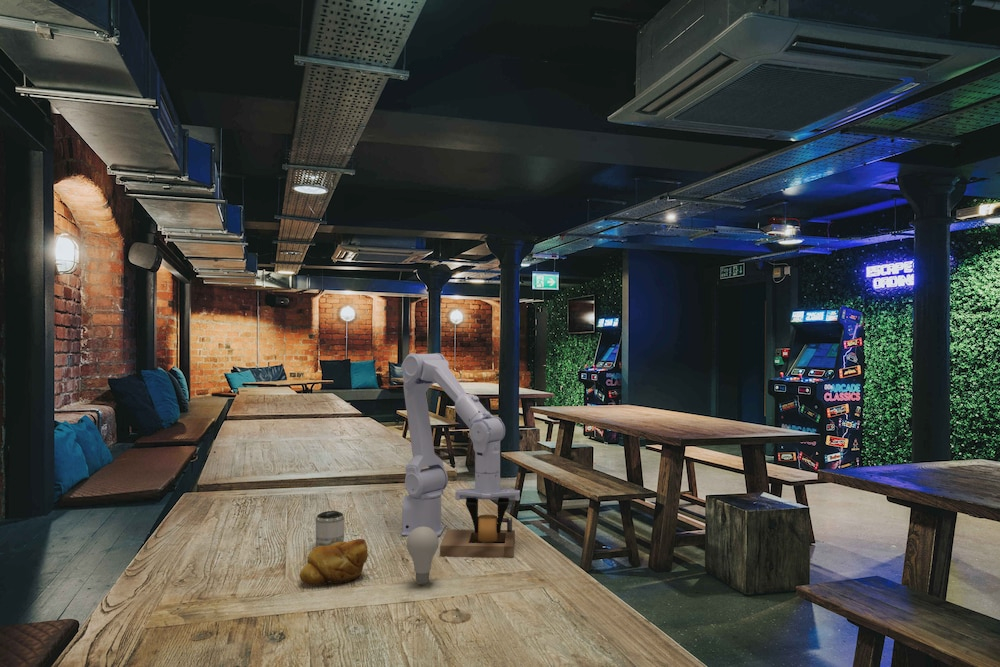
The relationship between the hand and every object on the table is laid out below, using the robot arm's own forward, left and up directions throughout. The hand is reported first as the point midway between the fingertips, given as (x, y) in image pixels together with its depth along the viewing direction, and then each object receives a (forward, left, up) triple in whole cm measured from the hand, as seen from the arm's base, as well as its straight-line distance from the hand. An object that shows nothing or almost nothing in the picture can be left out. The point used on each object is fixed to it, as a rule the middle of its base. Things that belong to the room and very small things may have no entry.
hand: (487, 531), depth 140 cm
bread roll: (-29, -20, -4) cm, 36 cm away
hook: (+1, +5, -4) cm, 6 cm away
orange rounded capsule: (0, 0, -2) cm, 2 cm away
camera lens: (-36, -1, -4) cm, 36 cm away
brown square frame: (-2, 0, -4) cm, 4 cm away
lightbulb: (-11, -22, -4) cm, 25 cm away
